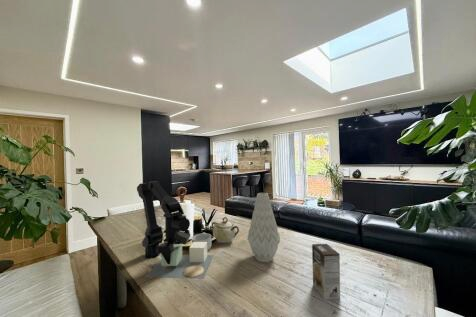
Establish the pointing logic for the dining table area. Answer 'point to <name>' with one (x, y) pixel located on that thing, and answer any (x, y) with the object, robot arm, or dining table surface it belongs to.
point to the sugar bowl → (224, 231)
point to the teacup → (203, 239)
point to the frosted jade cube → (173, 256)
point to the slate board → (179, 268)
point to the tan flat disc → (193, 271)
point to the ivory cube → (198, 251)
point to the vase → (263, 230)
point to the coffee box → (326, 271)
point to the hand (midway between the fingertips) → (172, 259)
